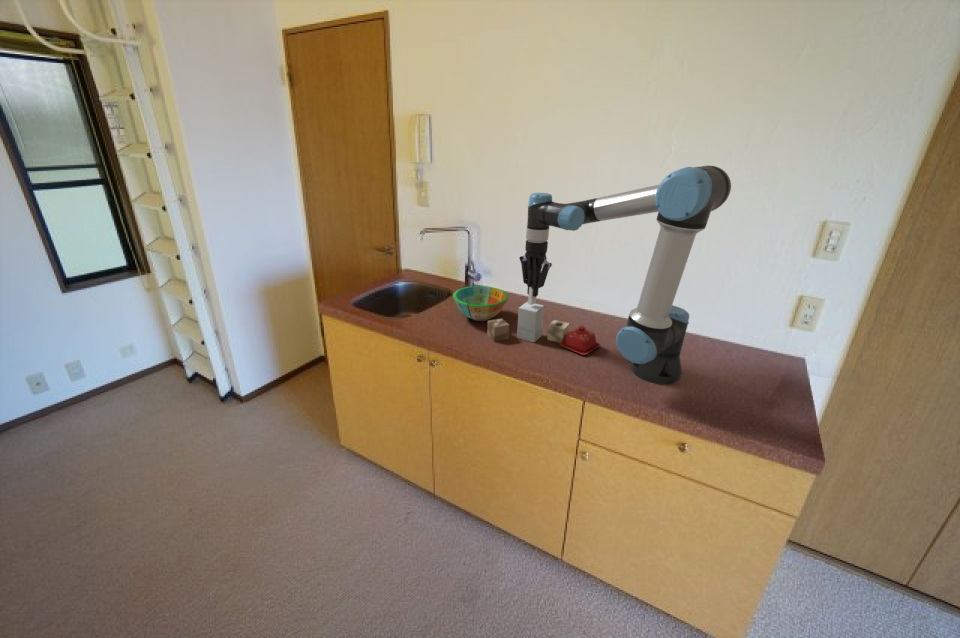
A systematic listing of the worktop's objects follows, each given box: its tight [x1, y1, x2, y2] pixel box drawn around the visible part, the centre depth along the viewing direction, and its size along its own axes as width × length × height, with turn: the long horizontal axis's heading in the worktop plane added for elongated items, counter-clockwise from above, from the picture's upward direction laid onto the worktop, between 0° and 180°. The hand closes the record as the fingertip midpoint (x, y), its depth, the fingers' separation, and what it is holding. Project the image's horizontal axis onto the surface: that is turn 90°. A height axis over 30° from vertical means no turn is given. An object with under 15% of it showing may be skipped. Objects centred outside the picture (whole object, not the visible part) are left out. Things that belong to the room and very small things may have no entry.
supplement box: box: [516, 301, 545, 344], centre depth 156 cm, size 7×7×13 cm
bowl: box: [452, 285, 509, 322], centre depth 172 cm, size 22×22×10 cm
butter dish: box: [558, 325, 601, 356], centre depth 151 cm, size 12×12×8 cm
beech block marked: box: [546, 319, 570, 344], centre depth 157 cm, size 6×6×6 cm
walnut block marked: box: [486, 318, 510, 342], centre depth 157 cm, size 6×6×6 cm
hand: (531, 303), depth 153 cm, fingers closed
